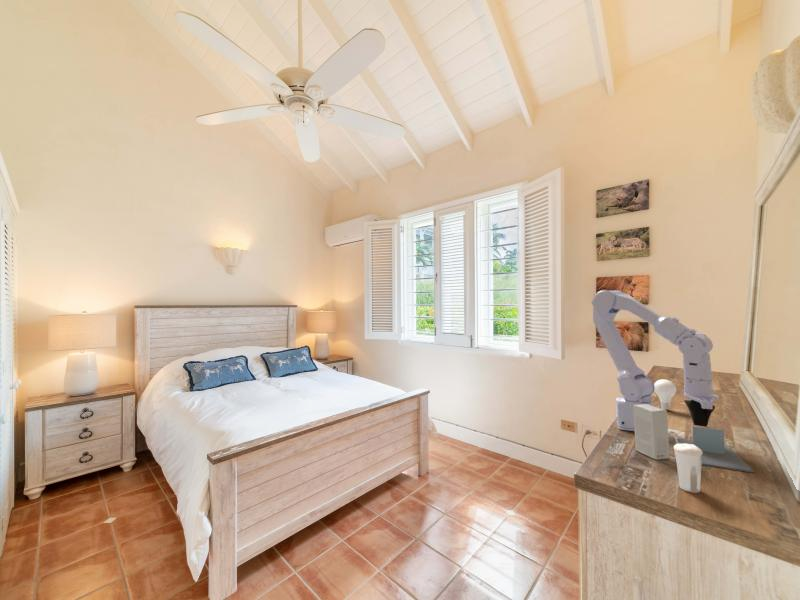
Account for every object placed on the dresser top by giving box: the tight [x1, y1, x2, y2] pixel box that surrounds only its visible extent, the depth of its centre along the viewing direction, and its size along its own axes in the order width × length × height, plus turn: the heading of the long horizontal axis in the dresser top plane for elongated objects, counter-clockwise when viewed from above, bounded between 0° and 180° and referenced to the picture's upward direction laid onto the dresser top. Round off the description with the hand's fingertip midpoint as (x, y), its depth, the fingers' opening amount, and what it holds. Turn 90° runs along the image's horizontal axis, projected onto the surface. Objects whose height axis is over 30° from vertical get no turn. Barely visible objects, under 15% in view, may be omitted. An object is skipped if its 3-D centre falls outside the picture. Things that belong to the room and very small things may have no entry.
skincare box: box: [633, 404, 670, 460], centre depth 85 cm, size 6×4×12 cm
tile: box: [690, 424, 725, 454], centre depth 85 cm, size 6×2×6 cm, turn 61°
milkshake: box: [673, 434, 702, 494], centre depth 69 cm, size 5×5×10 cm
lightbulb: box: [653, 378, 677, 411], centre depth 120 cm, size 6×6×11 cm
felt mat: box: [673, 437, 755, 474], centre depth 84 cm, size 11×16×1 cm
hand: (700, 428), depth 90 cm, fingers closed
